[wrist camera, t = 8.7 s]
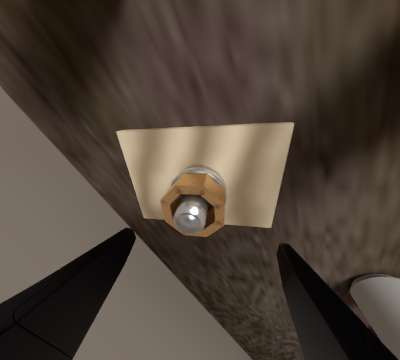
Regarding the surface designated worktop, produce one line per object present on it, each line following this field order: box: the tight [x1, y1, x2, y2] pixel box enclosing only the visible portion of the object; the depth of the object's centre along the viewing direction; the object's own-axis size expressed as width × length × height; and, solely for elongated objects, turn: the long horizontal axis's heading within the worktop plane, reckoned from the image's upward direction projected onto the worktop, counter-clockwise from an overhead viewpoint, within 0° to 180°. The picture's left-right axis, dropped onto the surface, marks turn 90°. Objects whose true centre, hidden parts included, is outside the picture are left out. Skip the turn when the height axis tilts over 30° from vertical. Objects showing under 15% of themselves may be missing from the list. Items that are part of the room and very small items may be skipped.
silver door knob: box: [171, 165, 226, 234], centre depth 16 cm, size 7×7×6 cm
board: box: [116, 122, 294, 228], centre depth 19 cm, size 20×14×1 cm
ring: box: [160, 173, 225, 237], centre depth 16 cm, size 7×7×3 cm
